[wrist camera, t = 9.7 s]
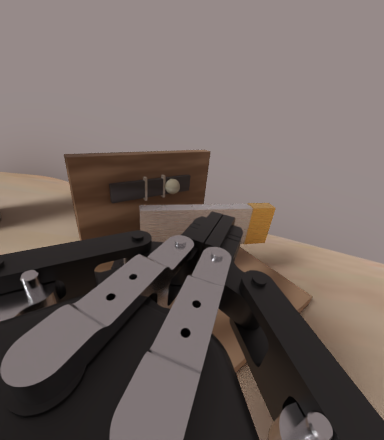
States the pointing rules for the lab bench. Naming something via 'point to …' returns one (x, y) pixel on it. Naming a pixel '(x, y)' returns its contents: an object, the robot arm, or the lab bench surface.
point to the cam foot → (185, 214)
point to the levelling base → (153, 195)
